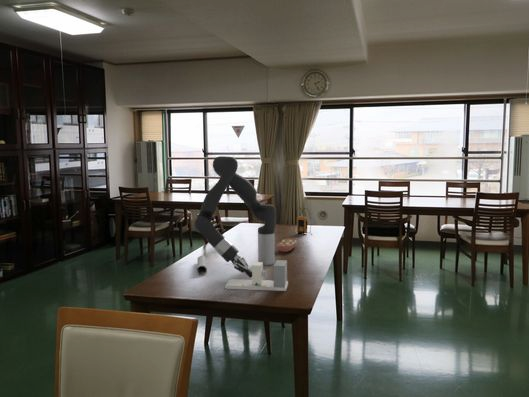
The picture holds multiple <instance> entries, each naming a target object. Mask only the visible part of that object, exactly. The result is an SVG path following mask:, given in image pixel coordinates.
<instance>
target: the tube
mask: <svg viewBox="0 0 529 397" xmlns="http://www.w3.org/2000/svg"><path fill="white" fill-rule="evenodd" d="M196 261H197V266H196V273H197V275H198V276H204V275H206V274H207V273H208V269H207V258H206V257H205V255H200V256H198V257H197V260H196Z"/></svg>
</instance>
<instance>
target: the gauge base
mask: <svg viewBox="0 0 529 397" xmlns="http://www.w3.org/2000/svg"><path fill="white" fill-rule="evenodd" d="M224 286H225V289H227V290H228V289H229V290H231V289H232V290H251V291H253V290H254V291H255V290H256V291H275V292H276V291H277V292H278V291H279V292H286V291H287V288H288V286H289V281H288V260H285V259H283V260H282V259H275V263H274V264H273V280H266V279H263V282H262V284H261V285H257V286H256V285H254V284H252V279H242V278H240V279H236V278H231V279H229V280H228V282H226V284H225V285H224Z"/></svg>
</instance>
